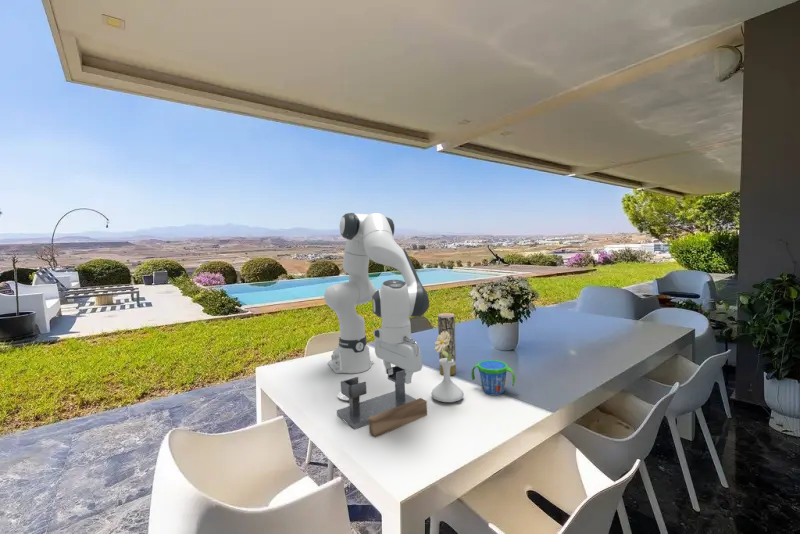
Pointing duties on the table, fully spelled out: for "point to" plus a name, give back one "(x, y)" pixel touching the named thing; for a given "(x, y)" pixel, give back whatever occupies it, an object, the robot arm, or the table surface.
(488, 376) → the snack cup
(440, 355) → the grey wooden cylinder
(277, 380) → the table surface
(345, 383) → the bracket stand
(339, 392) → the pale veined leaf
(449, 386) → the flower in vase
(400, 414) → the walnut rail
